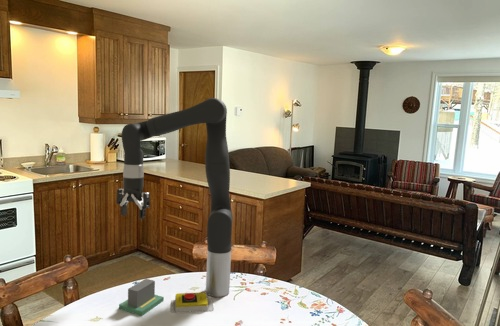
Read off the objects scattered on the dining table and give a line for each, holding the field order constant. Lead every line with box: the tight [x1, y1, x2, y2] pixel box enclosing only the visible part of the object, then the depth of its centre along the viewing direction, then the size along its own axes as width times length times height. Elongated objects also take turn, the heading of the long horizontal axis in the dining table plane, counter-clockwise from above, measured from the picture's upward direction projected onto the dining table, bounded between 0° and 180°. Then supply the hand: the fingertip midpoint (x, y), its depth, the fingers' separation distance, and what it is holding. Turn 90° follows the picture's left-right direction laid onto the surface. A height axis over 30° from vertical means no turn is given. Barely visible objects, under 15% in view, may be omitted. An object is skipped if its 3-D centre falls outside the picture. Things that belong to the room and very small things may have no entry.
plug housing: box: [127, 278, 156, 308], centre depth 133 cm, size 10×4×6 cm, turn 157°
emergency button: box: [170, 291, 215, 314], centre depth 135 cm, size 9×4×15 cm
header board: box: [118, 294, 164, 317], centre depth 134 cm, size 12×10×5 cm
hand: (132, 216), depth 145 cm, fingers open, 8 cm apart
